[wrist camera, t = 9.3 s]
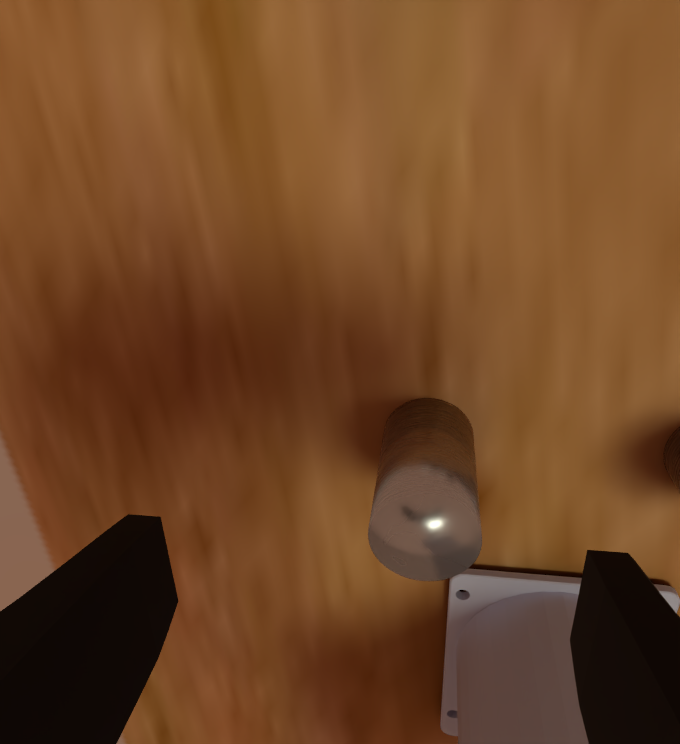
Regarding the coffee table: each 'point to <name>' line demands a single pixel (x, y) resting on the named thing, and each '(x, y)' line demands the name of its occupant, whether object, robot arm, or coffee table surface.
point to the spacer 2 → (673, 458)
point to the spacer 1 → (426, 493)
